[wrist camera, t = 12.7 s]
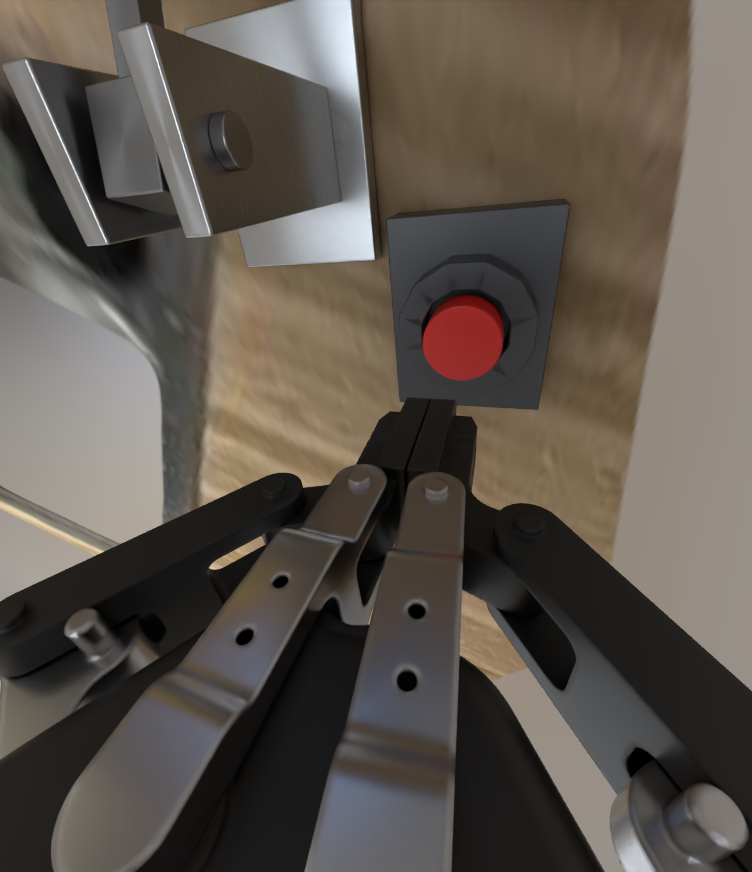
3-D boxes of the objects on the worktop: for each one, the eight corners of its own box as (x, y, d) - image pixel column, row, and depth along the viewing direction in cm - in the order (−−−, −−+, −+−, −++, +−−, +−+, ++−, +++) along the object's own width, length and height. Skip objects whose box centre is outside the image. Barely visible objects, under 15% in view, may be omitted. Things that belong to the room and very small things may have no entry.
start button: (428, 295, 18) (420, 306, 17) (507, 293, 17) (506, 304, 16) (429, 364, 20) (423, 379, 19) (500, 366, 19) (499, 382, 18)
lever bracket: (200, 35, 18) (-122, -87, 9) (359, -8, 16) (144, -231, 7) (257, 263, 24) (95, 330, 15) (381, 256, 21) (281, 330, 12)
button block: (396, 213, 20) (374, 224, 17) (565, 198, 18) (576, 207, 15) (407, 385, 26) (392, 417, 23) (536, 391, 23) (539, 427, 20)
